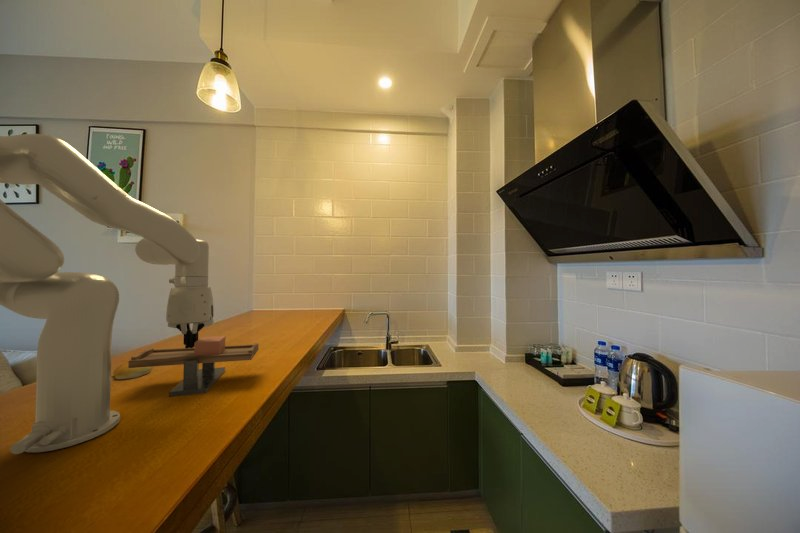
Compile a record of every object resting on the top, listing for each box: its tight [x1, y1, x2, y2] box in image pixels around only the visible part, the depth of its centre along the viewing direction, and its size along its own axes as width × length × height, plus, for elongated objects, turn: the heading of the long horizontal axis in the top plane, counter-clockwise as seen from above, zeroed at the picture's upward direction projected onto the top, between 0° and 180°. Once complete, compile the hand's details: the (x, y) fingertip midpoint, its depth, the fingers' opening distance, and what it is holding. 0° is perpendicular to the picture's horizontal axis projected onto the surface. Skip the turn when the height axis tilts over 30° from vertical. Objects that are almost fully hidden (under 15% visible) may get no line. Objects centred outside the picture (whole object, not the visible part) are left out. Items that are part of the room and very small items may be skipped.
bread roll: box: [112, 360, 153, 380], centre depth 83 cm, size 8×9×4 cm
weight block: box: [193, 335, 226, 356], centre depth 79 cm, size 6×6×4 cm
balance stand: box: [168, 359, 226, 398], centre depth 78 cm, size 16×8×8 cm, turn 17°
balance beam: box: [128, 342, 259, 368], centre depth 78 cm, size 11×28×3 cm, turn 107°
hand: (190, 346), depth 78 cm, fingers closed
